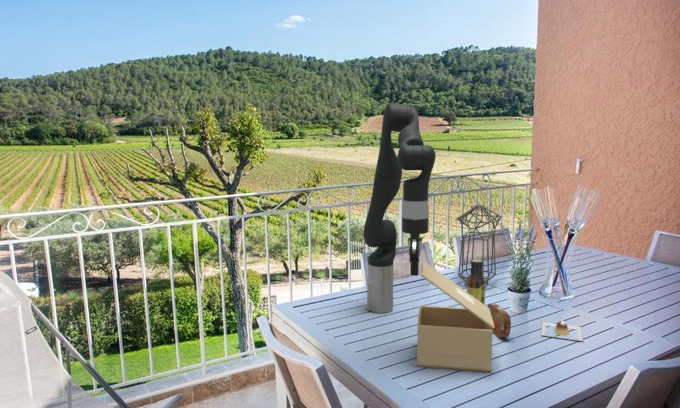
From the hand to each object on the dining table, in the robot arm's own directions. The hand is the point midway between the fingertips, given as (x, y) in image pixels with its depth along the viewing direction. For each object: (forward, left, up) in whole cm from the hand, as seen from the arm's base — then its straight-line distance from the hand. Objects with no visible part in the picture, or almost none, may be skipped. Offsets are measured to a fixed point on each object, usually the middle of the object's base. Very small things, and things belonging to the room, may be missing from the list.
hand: (414, 274), depth 146 cm
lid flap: (+12, 0, -5) cm, 13 cm away
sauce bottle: (+20, +36, -24) cm, 48 cm away
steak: (+26, +21, -24) cm, 42 cm away
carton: (+11, 0, -24) cm, 27 cm away
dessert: (+47, +24, -25) cm, 58 cm away
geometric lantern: (+23, +71, -24) cm, 79 cm away
